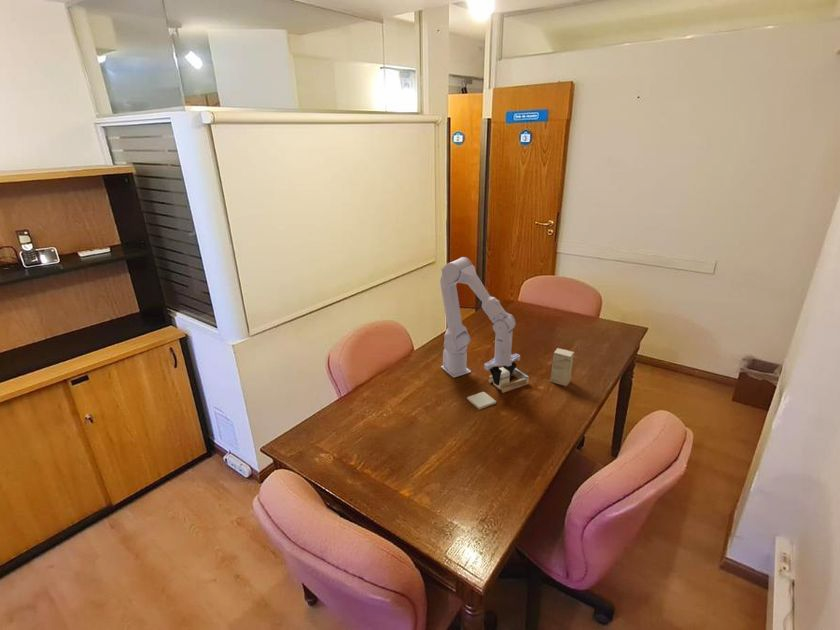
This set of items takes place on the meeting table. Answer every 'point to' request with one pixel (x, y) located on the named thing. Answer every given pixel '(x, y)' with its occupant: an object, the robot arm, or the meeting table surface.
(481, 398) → the stand tile
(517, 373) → the shelf bay
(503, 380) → the block
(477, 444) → the meeting table surface
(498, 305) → the robot arm
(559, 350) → the skincare box
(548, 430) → the meeting table surface
